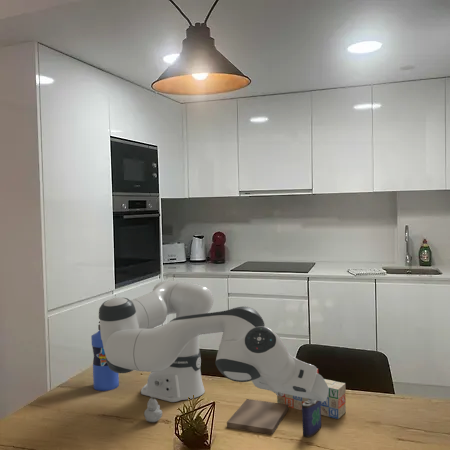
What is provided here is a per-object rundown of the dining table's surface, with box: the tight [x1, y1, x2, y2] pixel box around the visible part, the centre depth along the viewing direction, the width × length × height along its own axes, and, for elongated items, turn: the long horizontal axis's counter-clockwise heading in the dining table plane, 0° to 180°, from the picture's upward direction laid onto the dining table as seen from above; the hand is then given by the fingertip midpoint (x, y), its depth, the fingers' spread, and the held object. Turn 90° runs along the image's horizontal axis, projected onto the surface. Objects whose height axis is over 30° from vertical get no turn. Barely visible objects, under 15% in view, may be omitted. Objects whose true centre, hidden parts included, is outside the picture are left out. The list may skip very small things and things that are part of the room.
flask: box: [301, 400, 322, 438], centre depth 140 cm, size 9×3×11 cm, turn 144°
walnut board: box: [226, 398, 290, 435], centre depth 149 cm, size 14×18×2 cm
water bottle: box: [91, 320, 120, 392], centre depth 178 cm, size 9×9×25 cm
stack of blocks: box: [276, 368, 347, 420], centre depth 156 cm, size 21×6×12 cm, turn 54°
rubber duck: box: [143, 397, 163, 423], centre depth 149 cm, size 5×7×8 cm
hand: (296, 397), depth 130 cm, fingers open, 8 cm apart
